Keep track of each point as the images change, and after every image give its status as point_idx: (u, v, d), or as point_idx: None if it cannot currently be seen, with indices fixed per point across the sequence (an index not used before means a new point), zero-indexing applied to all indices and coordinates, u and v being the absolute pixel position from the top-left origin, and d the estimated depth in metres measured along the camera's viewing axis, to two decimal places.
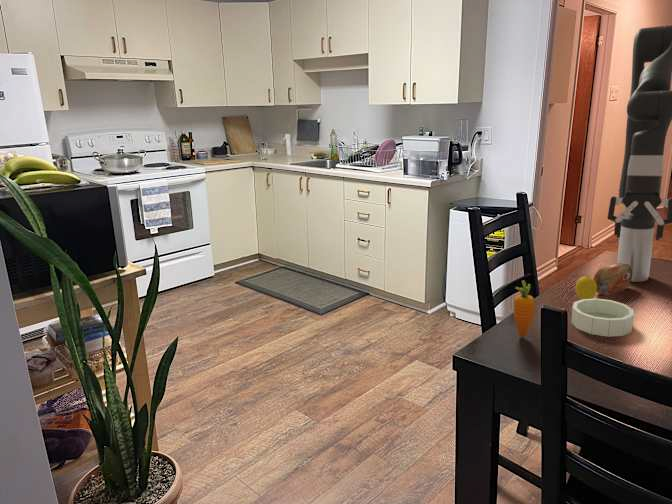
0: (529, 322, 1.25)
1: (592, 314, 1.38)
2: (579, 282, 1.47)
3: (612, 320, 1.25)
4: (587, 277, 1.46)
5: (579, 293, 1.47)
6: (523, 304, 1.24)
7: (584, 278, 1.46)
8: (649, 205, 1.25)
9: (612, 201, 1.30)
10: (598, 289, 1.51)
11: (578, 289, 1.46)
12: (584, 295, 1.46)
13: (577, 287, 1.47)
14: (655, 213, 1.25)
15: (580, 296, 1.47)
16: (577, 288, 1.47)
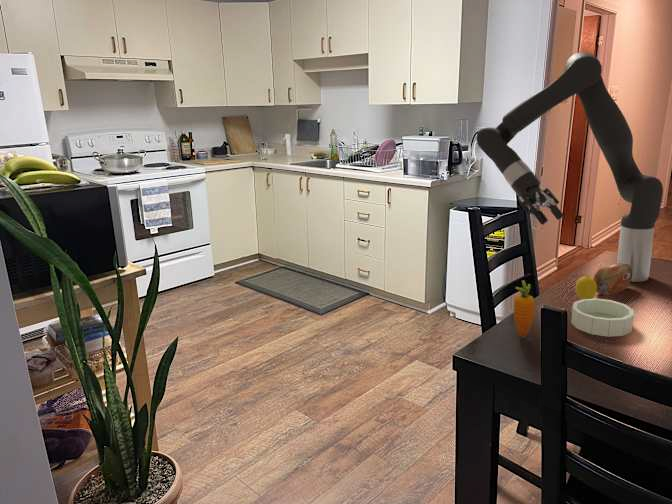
0: (529, 322, 1.25)
1: (592, 314, 1.38)
2: (579, 282, 1.47)
3: (612, 320, 1.25)
4: (587, 277, 1.46)
5: (579, 293, 1.47)
6: (523, 304, 1.24)
7: (584, 278, 1.46)
8: None
9: None
10: (598, 289, 1.51)
11: (578, 289, 1.46)
12: (584, 295, 1.46)
13: (577, 287, 1.47)
14: None
15: (580, 296, 1.47)
16: (577, 288, 1.47)
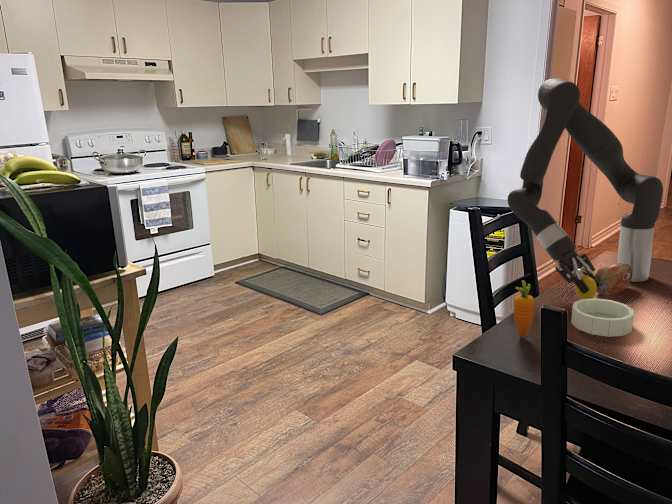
0: (529, 322, 1.25)
1: (592, 314, 1.38)
2: None
3: (612, 320, 1.25)
4: (587, 277, 1.46)
5: (579, 293, 1.47)
6: (523, 304, 1.24)
7: (584, 278, 1.46)
8: None
9: None
10: (598, 289, 1.51)
11: (578, 289, 1.46)
12: (584, 295, 1.46)
13: (577, 287, 1.47)
14: None
15: (580, 296, 1.47)
16: (577, 288, 1.47)
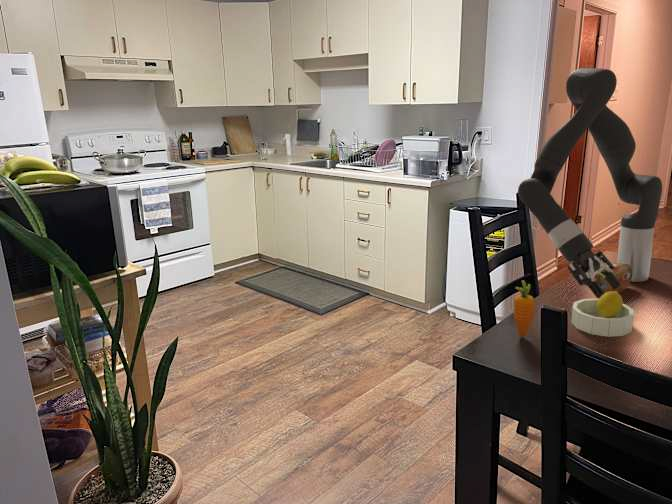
0: (529, 322, 1.25)
1: (592, 314, 1.38)
2: (607, 293, 1.33)
3: (612, 320, 1.25)
4: (617, 292, 1.33)
5: (603, 303, 1.32)
6: (523, 304, 1.24)
7: (614, 292, 1.33)
8: None
9: None
10: None
11: (604, 299, 1.32)
12: (607, 306, 1.31)
13: (603, 297, 1.33)
14: None
15: (602, 307, 1.32)
16: (602, 298, 1.33)
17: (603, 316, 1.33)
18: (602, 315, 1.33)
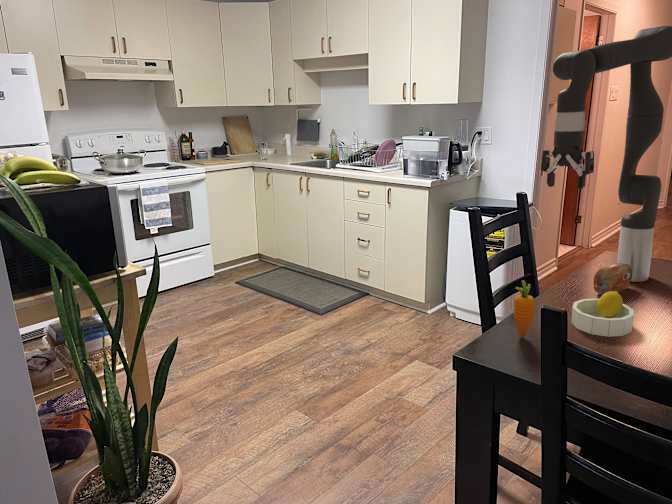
0: (529, 322, 1.25)
1: (592, 314, 1.38)
2: (607, 293, 1.33)
3: (612, 320, 1.25)
4: (617, 292, 1.33)
5: (603, 303, 1.32)
6: (523, 304, 1.24)
7: (614, 292, 1.33)
8: (569, 158, 1.39)
9: (543, 154, 1.45)
10: (598, 289, 1.51)
11: (604, 299, 1.32)
12: (607, 306, 1.31)
13: (603, 297, 1.33)
14: (574, 165, 1.38)
15: (602, 307, 1.32)
16: (602, 298, 1.33)
17: (603, 316, 1.33)
18: (602, 315, 1.33)
